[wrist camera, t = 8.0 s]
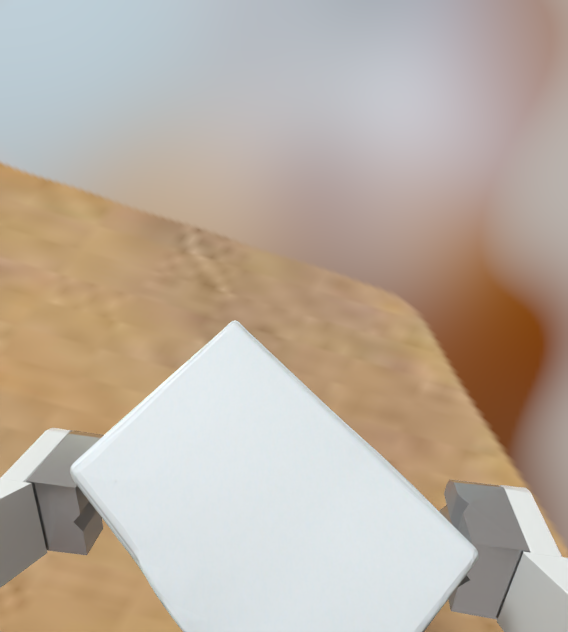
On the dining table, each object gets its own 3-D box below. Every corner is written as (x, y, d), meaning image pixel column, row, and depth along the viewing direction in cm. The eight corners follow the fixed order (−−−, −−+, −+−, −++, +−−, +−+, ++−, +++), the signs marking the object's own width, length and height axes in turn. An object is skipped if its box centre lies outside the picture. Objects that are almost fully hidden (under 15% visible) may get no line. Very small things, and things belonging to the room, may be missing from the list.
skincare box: (381, 517, 18) (498, 562, 7) (306, 603, 17) (306, 812, 6) (274, 409, 20) (234, 308, 9) (200, 482, 19) (52, 476, 8)
